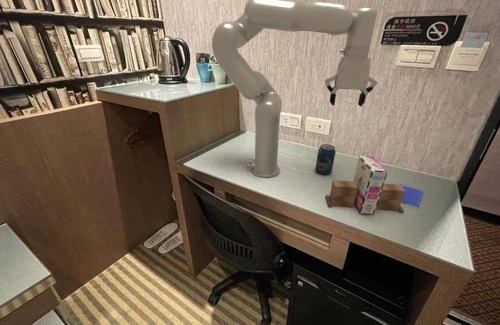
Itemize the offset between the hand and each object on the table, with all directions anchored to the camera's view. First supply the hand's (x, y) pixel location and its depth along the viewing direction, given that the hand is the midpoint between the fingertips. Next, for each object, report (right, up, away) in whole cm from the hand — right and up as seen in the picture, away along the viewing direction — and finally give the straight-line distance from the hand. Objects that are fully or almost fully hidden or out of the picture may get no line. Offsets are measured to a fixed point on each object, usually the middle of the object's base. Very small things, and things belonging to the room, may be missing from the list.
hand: (346, 105), depth 86 cm
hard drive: (+24, -34, +2) cm, 41 cm away
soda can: (-3, -25, +18) cm, 31 cm away
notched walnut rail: (+5, -35, -3) cm, 36 cm away
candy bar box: (+4, -36, -2) cm, 36 cm away
